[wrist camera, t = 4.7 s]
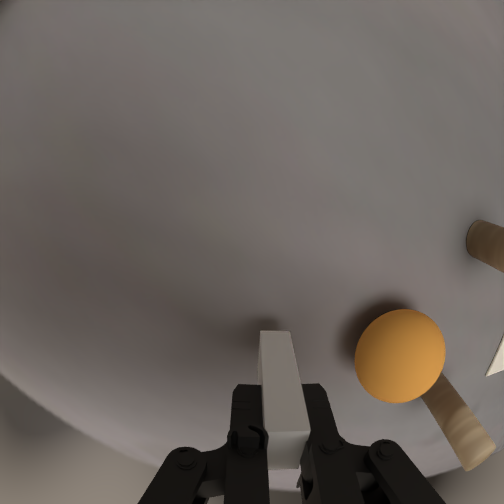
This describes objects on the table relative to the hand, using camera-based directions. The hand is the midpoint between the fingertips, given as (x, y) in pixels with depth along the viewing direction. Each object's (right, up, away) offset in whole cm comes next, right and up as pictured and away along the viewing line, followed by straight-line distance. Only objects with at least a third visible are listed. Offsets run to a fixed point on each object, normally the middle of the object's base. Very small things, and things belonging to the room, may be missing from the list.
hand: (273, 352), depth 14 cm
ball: (+7, -1, 0) cm, 7 cm away
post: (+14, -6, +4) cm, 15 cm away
